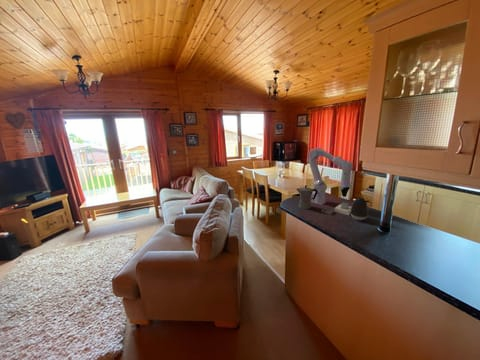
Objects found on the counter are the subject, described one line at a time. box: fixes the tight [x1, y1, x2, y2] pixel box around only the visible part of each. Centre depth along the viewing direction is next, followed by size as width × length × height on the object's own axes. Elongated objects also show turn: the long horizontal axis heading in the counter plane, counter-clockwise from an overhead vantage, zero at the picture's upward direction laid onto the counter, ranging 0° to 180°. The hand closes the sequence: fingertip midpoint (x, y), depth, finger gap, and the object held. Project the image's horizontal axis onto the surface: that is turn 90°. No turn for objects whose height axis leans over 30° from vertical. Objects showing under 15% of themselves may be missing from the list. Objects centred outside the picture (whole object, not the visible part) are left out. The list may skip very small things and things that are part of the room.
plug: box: [341, 200, 350, 210], centre depth 145 cm, size 4×4×8 cm
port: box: [334, 203, 352, 216], centre depth 146 cm, size 10×10×3 cm
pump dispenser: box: [350, 196, 370, 221], centre depth 133 cm, size 10×10×15 cm
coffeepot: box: [295, 185, 318, 210], centre depth 154 cm, size 15×9×18 cm, turn 70°
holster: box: [320, 206, 336, 216], centre depth 146 cm, size 8×6×2 cm
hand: (344, 196), depth 148 cm, fingers closed
